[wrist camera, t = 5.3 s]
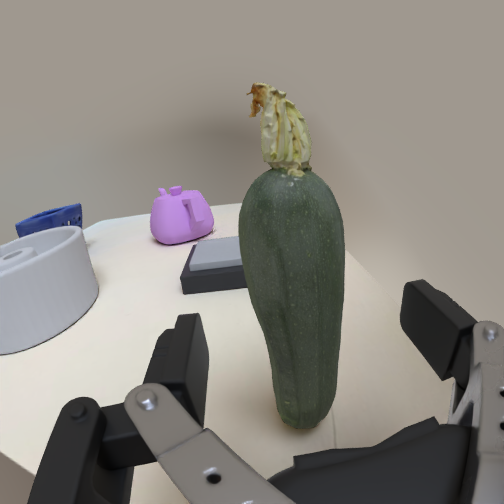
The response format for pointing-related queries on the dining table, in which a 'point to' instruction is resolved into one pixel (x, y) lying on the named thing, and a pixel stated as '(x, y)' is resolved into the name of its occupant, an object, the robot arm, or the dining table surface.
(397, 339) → the dining table surface
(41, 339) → the container
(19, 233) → the flower pot
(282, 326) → the vegetable
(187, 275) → the scale
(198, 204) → the teapot
